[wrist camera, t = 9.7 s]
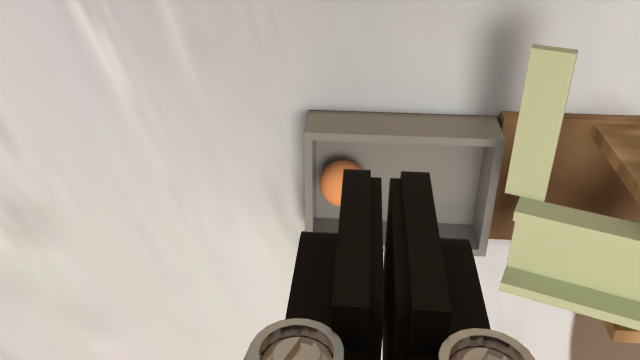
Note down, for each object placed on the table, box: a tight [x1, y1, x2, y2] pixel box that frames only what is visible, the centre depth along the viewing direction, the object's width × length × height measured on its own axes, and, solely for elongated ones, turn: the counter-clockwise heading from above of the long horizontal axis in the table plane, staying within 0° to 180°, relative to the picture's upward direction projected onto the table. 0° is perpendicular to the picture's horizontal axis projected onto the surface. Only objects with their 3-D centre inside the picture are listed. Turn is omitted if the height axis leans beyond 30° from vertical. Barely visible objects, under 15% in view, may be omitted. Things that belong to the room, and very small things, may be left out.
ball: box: [319, 160, 361, 206], centre depth 47 cm, size 4×4×4 cm
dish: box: [304, 110, 506, 256], centre depth 47 cm, size 10×14×4 cm
